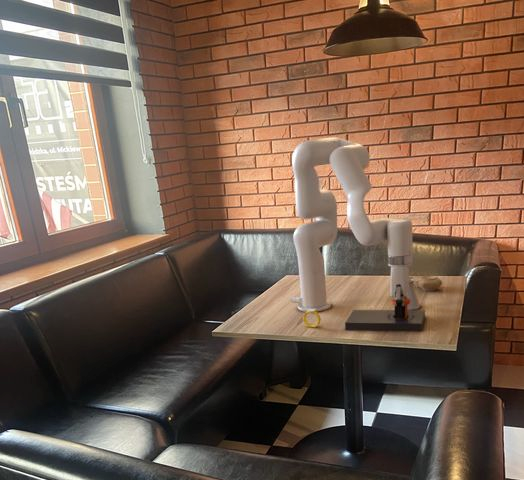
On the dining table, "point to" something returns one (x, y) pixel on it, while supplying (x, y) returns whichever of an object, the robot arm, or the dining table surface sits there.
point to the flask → (412, 297)
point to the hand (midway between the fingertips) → (401, 314)
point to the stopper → (406, 302)
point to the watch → (315, 314)
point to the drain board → (385, 320)
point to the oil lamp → (427, 282)
